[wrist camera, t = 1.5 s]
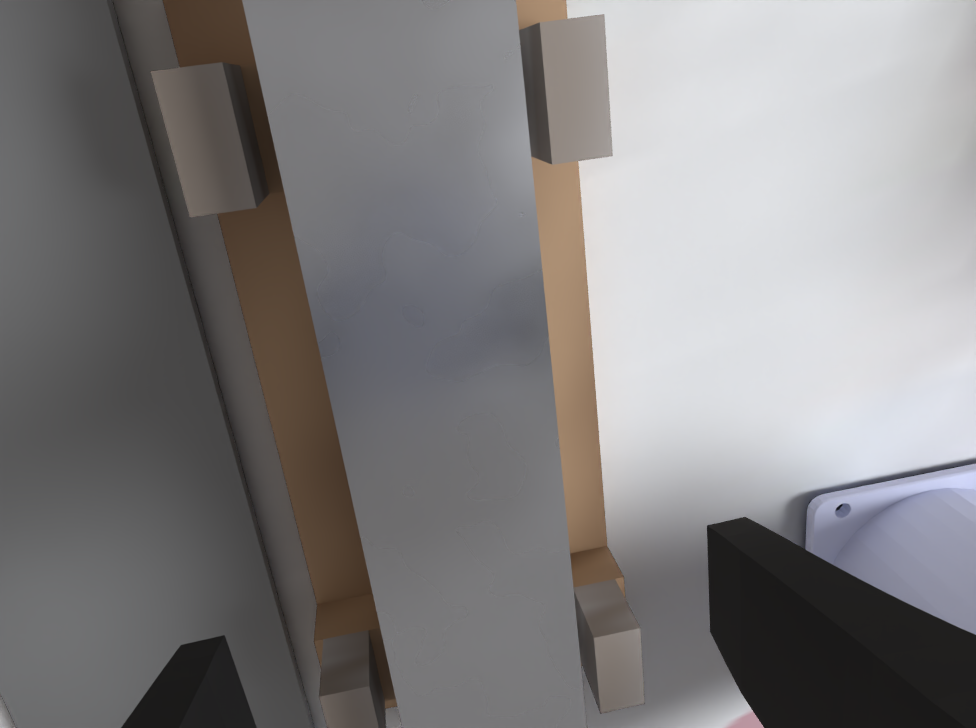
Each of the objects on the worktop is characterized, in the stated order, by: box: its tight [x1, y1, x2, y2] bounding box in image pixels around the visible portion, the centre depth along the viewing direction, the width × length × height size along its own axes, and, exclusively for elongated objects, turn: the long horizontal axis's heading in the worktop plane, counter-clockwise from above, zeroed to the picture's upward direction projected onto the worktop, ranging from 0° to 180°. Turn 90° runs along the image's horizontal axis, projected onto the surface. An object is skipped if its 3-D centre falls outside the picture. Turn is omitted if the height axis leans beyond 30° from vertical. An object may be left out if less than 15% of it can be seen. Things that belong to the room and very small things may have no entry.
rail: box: [242, 0, 587, 728], centre depth 16 cm, size 4×22×4 cm, turn 7°
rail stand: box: [150, 0, 645, 728], centre depth 18 cm, size 8×20×4 cm, turn 7°
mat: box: [0, 0, 314, 728], centre depth 19 cm, size 8×24×1 cm, turn 7°
